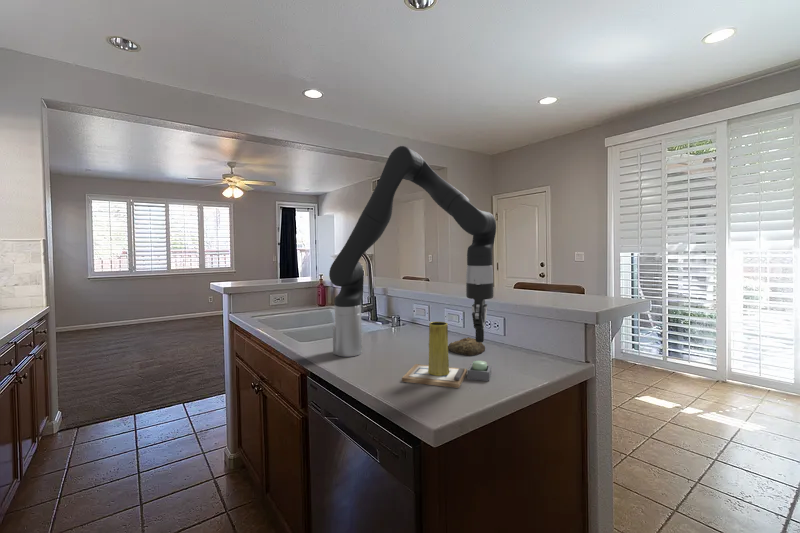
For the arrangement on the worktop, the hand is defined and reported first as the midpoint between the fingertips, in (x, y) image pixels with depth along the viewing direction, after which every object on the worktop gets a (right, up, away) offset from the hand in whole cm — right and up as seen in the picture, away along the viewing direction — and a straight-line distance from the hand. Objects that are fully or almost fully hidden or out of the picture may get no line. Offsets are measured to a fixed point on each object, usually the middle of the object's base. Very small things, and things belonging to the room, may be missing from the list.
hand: (479, 341), depth 107 cm
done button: (0, -8, 0) cm, 8 cm away
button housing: (0, -10, +1) cm, 10 cm away
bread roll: (+2, -9, +28) cm, 30 cm away
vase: (-12, -9, 0) cm, 15 cm away
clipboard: (-13, -10, +1) cm, 16 cm away
